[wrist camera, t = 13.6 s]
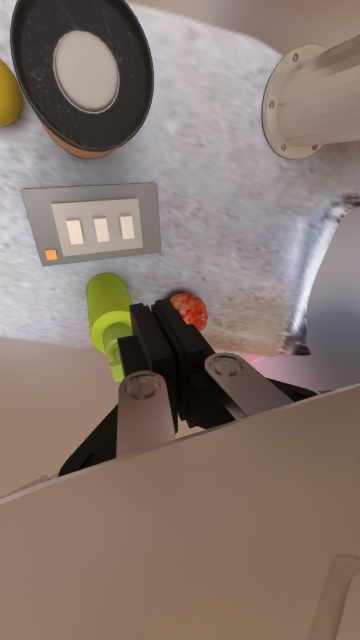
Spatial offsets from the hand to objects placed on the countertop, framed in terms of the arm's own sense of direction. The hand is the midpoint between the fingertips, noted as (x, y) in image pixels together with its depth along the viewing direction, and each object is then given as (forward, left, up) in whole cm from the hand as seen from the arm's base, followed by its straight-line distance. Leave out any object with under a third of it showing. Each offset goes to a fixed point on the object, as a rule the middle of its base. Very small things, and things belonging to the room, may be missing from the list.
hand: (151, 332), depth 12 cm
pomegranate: (-11, +15, -31) cm, 36 cm away
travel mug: (0, -11, -30) cm, 32 cm away
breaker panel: (0, 0, -30) cm, 30 cm away
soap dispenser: (0, +10, -30) cm, 32 cm away
